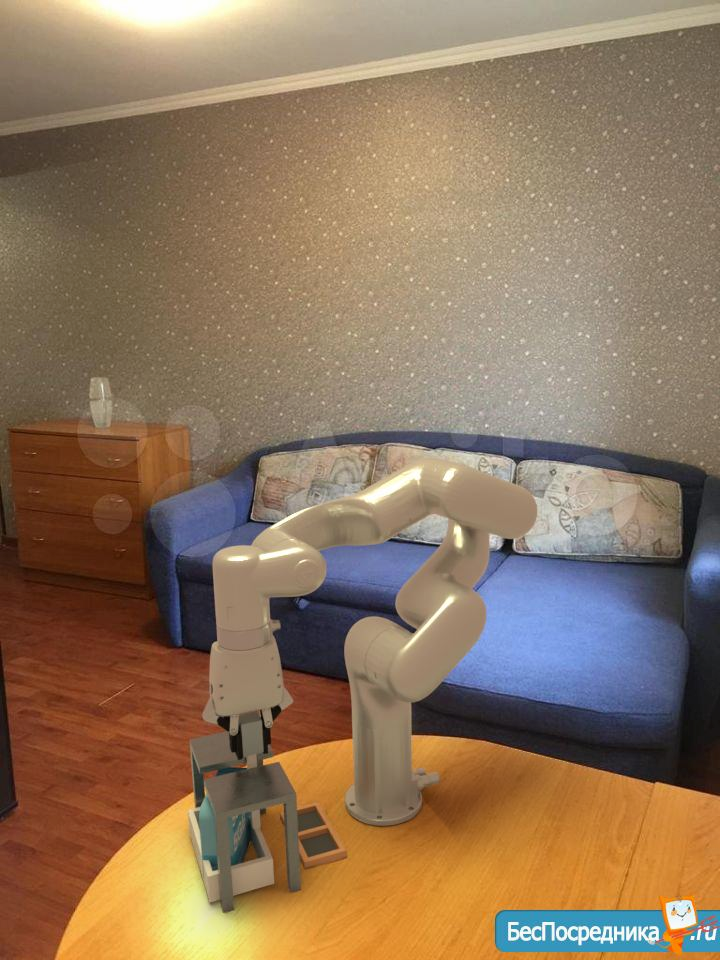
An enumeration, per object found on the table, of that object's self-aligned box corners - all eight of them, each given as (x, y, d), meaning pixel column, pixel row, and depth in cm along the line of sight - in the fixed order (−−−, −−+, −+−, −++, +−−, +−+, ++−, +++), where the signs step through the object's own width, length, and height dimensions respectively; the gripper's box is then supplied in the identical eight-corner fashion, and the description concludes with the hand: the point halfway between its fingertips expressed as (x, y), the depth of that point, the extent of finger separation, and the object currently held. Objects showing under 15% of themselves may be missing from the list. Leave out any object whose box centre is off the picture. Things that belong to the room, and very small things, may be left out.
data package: (235, 888, 109) (229, 811, 107) (203, 887, 110) (197, 810, 107) (253, 833, 121) (249, 763, 119) (225, 832, 121) (220, 762, 119)
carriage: (253, 816, 125) (246, 692, 120) (281, 881, 110) (274, 742, 106) (189, 832, 121) (179, 705, 117) (209, 902, 106) (198, 759, 102)
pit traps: (318, 808, 127) (318, 801, 127) (346, 857, 115) (346, 850, 115) (280, 818, 125) (279, 811, 124) (305, 869, 113) (304, 862, 113)
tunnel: (263, 808, 127) (258, 724, 124) (301, 889, 109) (296, 793, 106) (196, 825, 123) (189, 739, 120) (223, 913, 105) (215, 813, 102)
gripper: (292, 615, 116) (297, 728, 120) (181, 634, 110) (190, 752, 114) (307, 633, 109) (312, 752, 113) (190, 654, 103) (199, 779, 107)
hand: (250, 751), depth 113 cm, fingers closed on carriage, 3 cm apart
